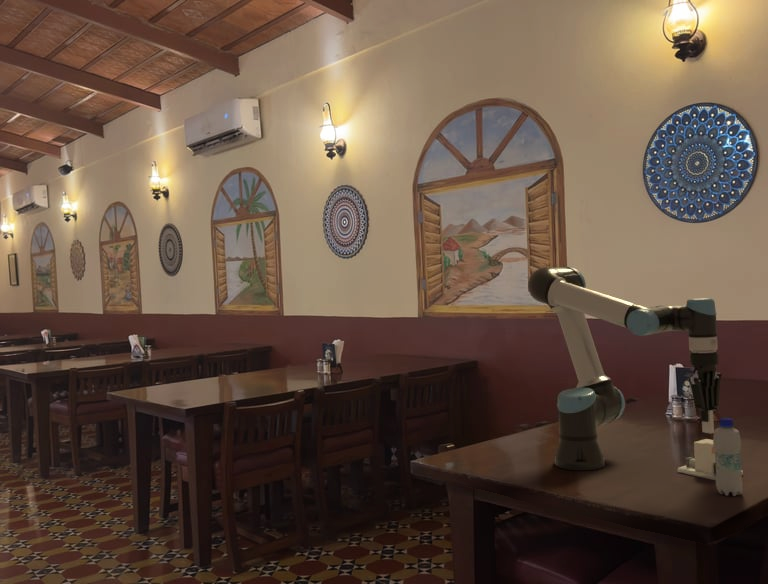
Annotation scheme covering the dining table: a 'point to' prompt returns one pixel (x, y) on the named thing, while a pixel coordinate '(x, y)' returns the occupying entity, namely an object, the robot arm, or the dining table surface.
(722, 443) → the bottle
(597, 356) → the robot arm
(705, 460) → the block
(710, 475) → the rail board
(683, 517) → the dining table surface
